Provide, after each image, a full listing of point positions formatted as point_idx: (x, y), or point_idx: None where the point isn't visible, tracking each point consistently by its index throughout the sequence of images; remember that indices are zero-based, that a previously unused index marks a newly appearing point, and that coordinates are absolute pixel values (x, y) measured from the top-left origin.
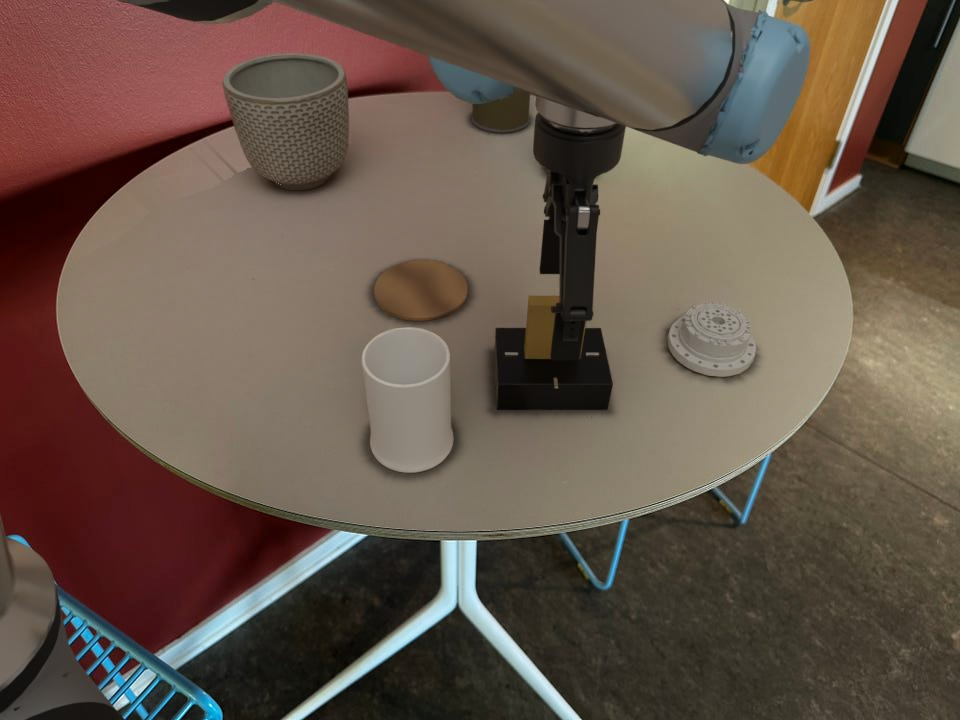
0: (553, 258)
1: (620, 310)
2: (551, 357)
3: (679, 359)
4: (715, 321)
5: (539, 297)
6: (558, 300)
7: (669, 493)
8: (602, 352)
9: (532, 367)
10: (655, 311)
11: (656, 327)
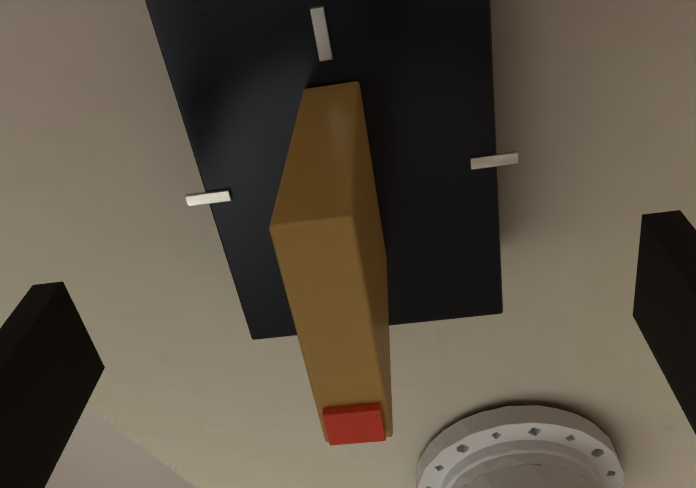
0: (675, 327)
1: None
2: (27, 294)
3: (459, 426)
4: None
5: (341, 268)
6: (333, 344)
7: None
8: None
9: (268, 117)
10: (667, 384)
11: (598, 383)
